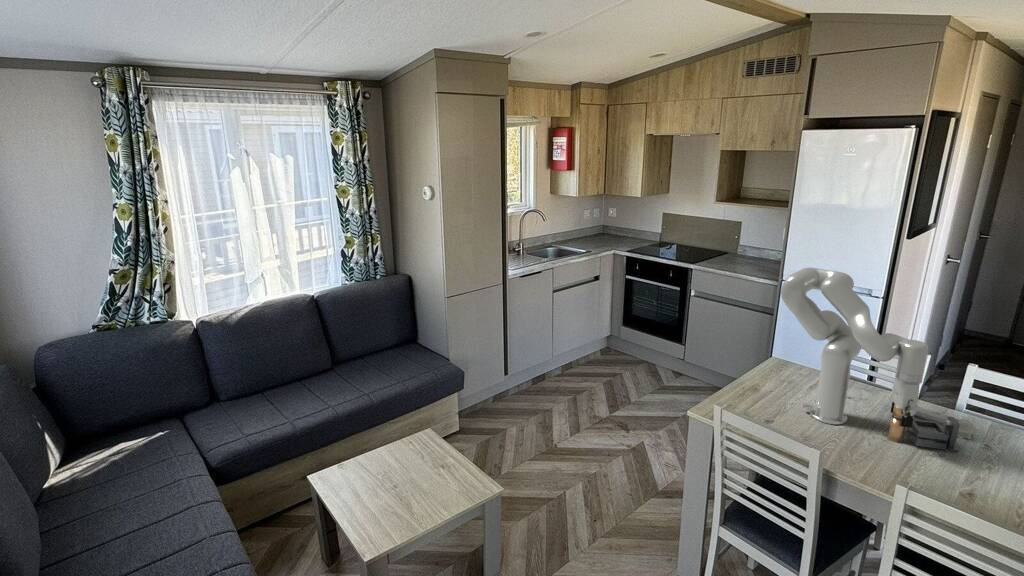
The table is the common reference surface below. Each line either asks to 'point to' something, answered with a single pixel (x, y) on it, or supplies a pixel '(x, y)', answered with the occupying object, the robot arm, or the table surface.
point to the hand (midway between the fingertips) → (900, 419)
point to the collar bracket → (935, 434)
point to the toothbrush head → (964, 428)
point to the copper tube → (896, 425)
